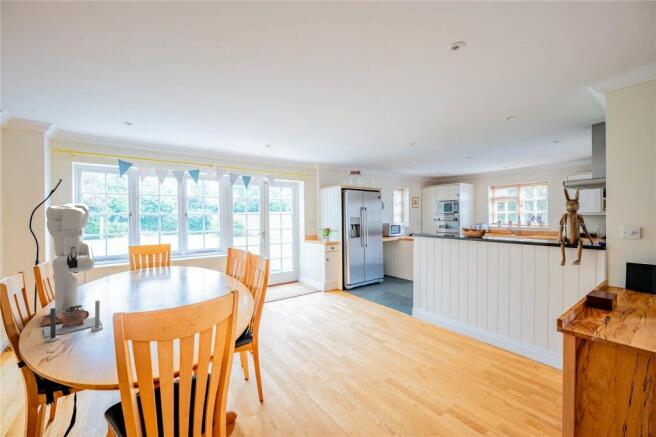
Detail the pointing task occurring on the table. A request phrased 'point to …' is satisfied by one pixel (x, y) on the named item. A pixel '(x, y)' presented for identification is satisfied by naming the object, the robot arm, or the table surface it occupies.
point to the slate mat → (59, 330)
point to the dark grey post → (52, 326)
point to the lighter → (73, 316)
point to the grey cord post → (97, 317)
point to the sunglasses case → (57, 319)
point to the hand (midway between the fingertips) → (72, 266)
